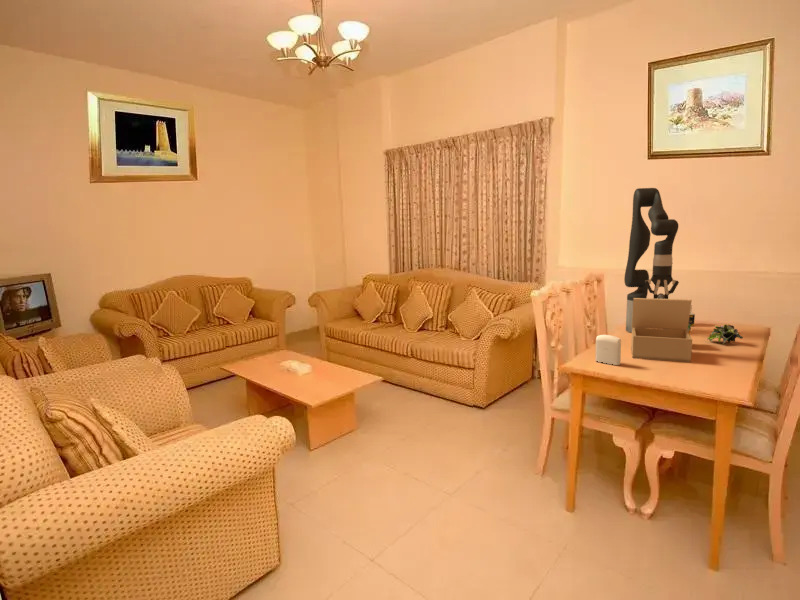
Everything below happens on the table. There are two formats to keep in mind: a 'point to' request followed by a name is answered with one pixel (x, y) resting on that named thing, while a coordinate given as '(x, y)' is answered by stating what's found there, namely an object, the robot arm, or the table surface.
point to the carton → (661, 344)
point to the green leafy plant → (725, 333)
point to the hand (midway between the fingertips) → (660, 302)
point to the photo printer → (608, 349)
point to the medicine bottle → (691, 317)
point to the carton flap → (661, 313)
